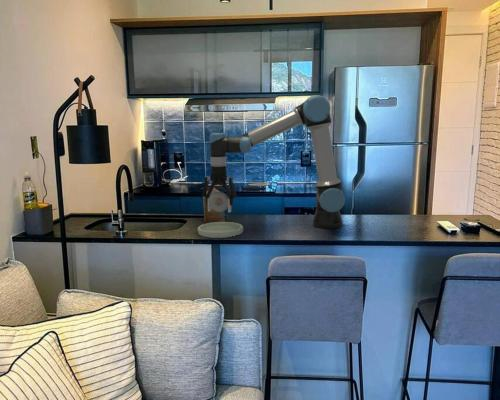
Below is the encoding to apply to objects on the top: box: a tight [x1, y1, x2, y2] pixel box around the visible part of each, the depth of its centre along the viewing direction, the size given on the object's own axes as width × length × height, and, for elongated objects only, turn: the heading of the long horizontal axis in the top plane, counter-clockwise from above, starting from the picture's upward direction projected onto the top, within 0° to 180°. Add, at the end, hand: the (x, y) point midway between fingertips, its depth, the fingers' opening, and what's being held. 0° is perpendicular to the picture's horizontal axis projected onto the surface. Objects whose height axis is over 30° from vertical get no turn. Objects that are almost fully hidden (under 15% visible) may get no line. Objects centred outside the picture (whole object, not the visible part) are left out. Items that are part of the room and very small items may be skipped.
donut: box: [209, 191, 229, 212], centre depth 205 cm, size 10×4×10 cm, turn 90°
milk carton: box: [202, 188, 226, 224], centre depth 231 cm, size 11×11×19 cm
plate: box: [197, 221, 244, 239], centre depth 208 cm, size 22×22×2 cm
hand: (219, 211), depth 206 cm, fingers closed on donut, 10 cm apart
